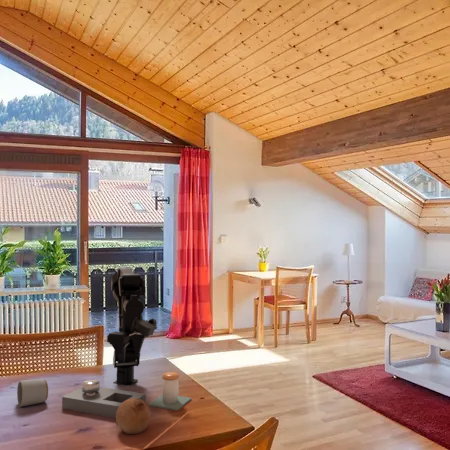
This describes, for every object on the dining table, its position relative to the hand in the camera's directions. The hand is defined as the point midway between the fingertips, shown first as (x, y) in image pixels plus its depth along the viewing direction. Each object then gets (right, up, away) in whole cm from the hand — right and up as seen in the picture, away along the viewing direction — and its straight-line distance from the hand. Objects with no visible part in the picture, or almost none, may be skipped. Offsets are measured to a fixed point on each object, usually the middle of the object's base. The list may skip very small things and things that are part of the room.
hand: (130, 358), depth 166 cm
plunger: (-10, -11, -10) cm, 18 cm away
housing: (-6, -12, -12) cm, 18 cm away
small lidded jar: (+14, -11, -7) cm, 20 cm away
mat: (+14, -12, -7) cm, 20 cm away
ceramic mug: (-30, -12, -7) cm, 33 cm away
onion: (+6, -13, -28) cm, 31 cm away
